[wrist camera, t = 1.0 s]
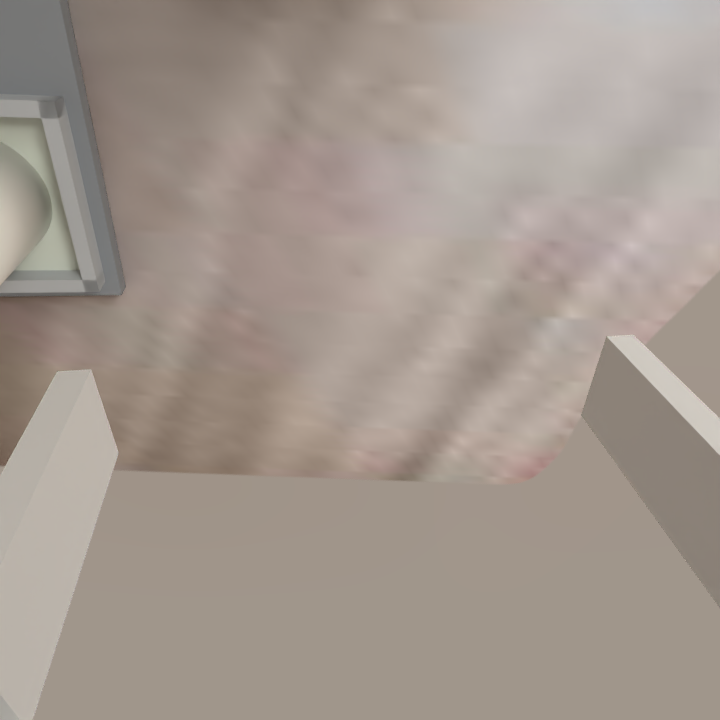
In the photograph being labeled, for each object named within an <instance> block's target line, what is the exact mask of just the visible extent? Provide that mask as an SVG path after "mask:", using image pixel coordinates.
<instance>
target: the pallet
mask: <svg viewBox="0 0 720 720" xmlns="http://www.w3.org/2000/svg"><path fill="white" fill-rule="evenodd" d="M0 142H2V143H4V144H6V145H7V146H9V147H11V148H12V149H14V150H15V151H17V152H18V153H19V154H21V155H22V156H23V157H24V158H25V159H26V160H27V161H28V162H29V163H30V164H31V165H32V166H33V167H34V168H35V169H36V171H37V172H38V173H39V174H40V176H41V178H42V179H43V181H44V183H45V185H46V187H47V189H48V192H49V195H50V198H51V203H52V220H51V224H50V227H49V229H48V231H47V233H46V234H45V236H44V237H43V238H42V240H41V241H40V242H39V243H38V244H37V245H36V246H35V247H34V249H33V250H32V251H31V252H30V253H29V254H28V255H27V256H26V257H25V259H24V260H23V261H22V262H21V263H20V264H19V265H18V266H17V268H16V269H15V270H14V271H13V272H12V273H11V274H10V275H9V276H8V278H7V279H6V280H5V281H4V282H3V283H2V284H1V285H0V296H80V295H122V293H123V291H124V289H125V287H126V285H125V281H124V276H123V271H122V266H121V261H120V256H119V251H118V246H117V241H116V237H115V232H114V227H113V222H112V217H111V212H110V207H109V202H108V197H107V193H106V188H105V183H104V178H103V173H102V168H101V163H100V158H99V154H98V149H97V144H96V139H95V134H94V129H93V124H92V119H91V114H90V110H89V105H88V100H87V95H86V90H85V85H84V80H83V75H82V70H81V66H80V61H79V56H78V51H77V46H76V41H75V36H74V31H73V26H72V22H71V17H70V12H69V7H68V2H67V0H0Z"/></svg>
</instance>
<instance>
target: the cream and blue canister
mask: <svg viewBox="0 0 720 720" xmlns="http://www.w3.org/2000/svg"><path fill="white" fill-rule="evenodd" d="M51 220H52V203H51V198H50V195H49V192H48V189H47V187H46V185H45V183H44V181H43V179H42V178H41V176H40V174H39V173H38V172H37V171H36V169H35V168H34V167H33V166H32V165H31V164H30V163H29V162H28V161H27V160H26V159H25V158H24V157H23V156H22V155H21V154H19V153H18V152H17V151H15V150H14V149H12V148H11V147H9V146H7V145H6V144H4V143H2V142H0V285H1V284H2V283H3V282H4V281H5V280H6V279H7V278H8V276H9V275H10V274H11V273H12V272H13V271H14V270H15V269H16V268H17V266H18V265H19V264H20V263H21V262H22V261H23V260H24V259H25V257H26V256H27V255H28V254H29V253H30V252H31V251H32V250H33V249H34V247H35V246H36V245H37V244H38V243H39V242H40V241H41V240H42V238H43V237H44V236H45V234H46V233H47V231H48V229H49V227H50V224H51Z"/></svg>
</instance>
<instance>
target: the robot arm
mask: <svg viewBox="0 0 720 720" xmlns="http://www.w3.org/2000/svg"><path fill="white" fill-rule="evenodd" d="M581 416H582V417H583V418H584V420H585V421H586V423H587V424H588V426H589V427H590V428H591V430H592V431H593V432H594V434H595V435H596V437H597V438H598V439H599V441H600V442H601V444H602V445H603V446H604V448H605V449H606V451H607V452H608V453H609V455H610V456H611V457H612V459H613V460H614V462H615V463H616V464H617V466H618V467H619V469H620V470H621V471H622V473H623V474H624V476H625V477H626V478H627V480H628V481H629V482H630V484H631V485H632V487H633V488H634V489H635V491H636V492H637V494H638V495H639V496H640V498H641V499H642V500H643V502H644V503H645V505H646V506H647V507H648V509H649V510H650V512H651V513H652V514H653V516H654V517H655V519H656V520H657V521H658V523H659V524H660V526H661V527H662V528H663V530H664V531H665V532H666V534H667V535H668V537H669V538H670V539H671V541H672V542H673V544H674V545H675V546H676V548H677V549H678V551H679V552H680V553H681V555H682V556H683V558H684V559H685V560H686V562H687V563H688V564H689V566H690V567H691V569H692V570H693V571H694V573H695V574H696V575H697V577H698V578H699V580H700V581H701V582H702V584H703V585H704V587H705V588H706V589H707V591H708V592H709V594H710V595H711V596H712V598H713V599H714V601H715V602H716V603H717V605H718V606H719V607H720V418H718V416H717V415H716V414H714V413H713V412H712V411H711V410H710V409H709V408H708V407H707V406H706V405H705V404H704V403H703V402H702V401H701V400H700V399H699V398H698V397H697V396H696V395H695V394H694V393H693V392H692V391H691V390H690V389H689V388H688V387H687V386H685V384H684V383H682V382H681V381H680V380H679V379H678V378H677V377H676V376H675V375H674V374H673V373H672V372H671V371H670V370H669V369H668V368H667V367H666V366H665V365H664V364H663V363H662V362H661V361H660V360H659V359H658V358H657V357H656V356H655V355H654V354H653V353H652V352H650V351H649V350H648V349H647V348H646V347H645V346H644V345H643V344H642V343H641V342H640V341H639V340H638V339H637V338H636V337H635V336H634V335H621V336H606V340H605V343H604V346H603V349H602V352H601V355H600V358H599V361H598V364H597V367H596V371H595V374H594V377H593V380H592V383H591V386H590V389H589V392H588V395H587V399H586V402H585V405H584V408H583V411H582V414H581ZM118 454H119V453H118V450H117V447H116V444H115V440H114V437H113V434H112V431H111V428H110V425H109V422H108V419H107V416H106V413H105V410H104V407H103V404H102V401H101V398H100V395H99V392H98V389H97V386H96V383H95V380H94V377H93V374H92V371H91V369H88V370H72V371H57V373H56V374H55V376H54V378H53V380H52V382H51V384H50V385H49V387H48V389H47V391H46V393H45V395H44V396H43V398H42V400H41V402H40V404H39V405H38V407H37V409H36V411H35V413H34V415H33V416H32V418H31V420H30V422H29V424H28V426H27V427H26V429H25V431H24V433H23V435H22V436H21V438H20V440H19V442H18V444H17V446H16V447H15V449H14V451H13V453H12V455H11V457H10V458H9V460H8V462H7V464H6V466H5V467H4V469H3V471H2V473H1V475H0V720H33V717H34V714H35V711H36V708H37V705H38V702H39V699H40V696H41V693H42V689H43V686H44V683H45V680H46V677H47V674H48V671H49V667H50V664H51V661H52V658H53V655H54V652H55V649H56V646H57V643H58V640H59V636H60V634H61V630H62V627H63V624H64V621H65V618H66V615H67V612H68V609H69V606H70V603H71V599H72V596H73V593H74V590H75V587H76V584H77V581H78V578H79V574H80V571H81V568H82V565H83V562H84V559H85V556H86V553H87V550H88V547H89V544H90V540H91V537H92V534H93V531H94V528H95V525H96V521H97V519H98V516H99V512H100V509H101V506H102V503H103V500H104V497H105V494H106V491H107V488H108V485H109V481H110V478H111V475H112V472H113V469H114V466H115V463H116V460H117V457H118Z"/></svg>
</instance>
